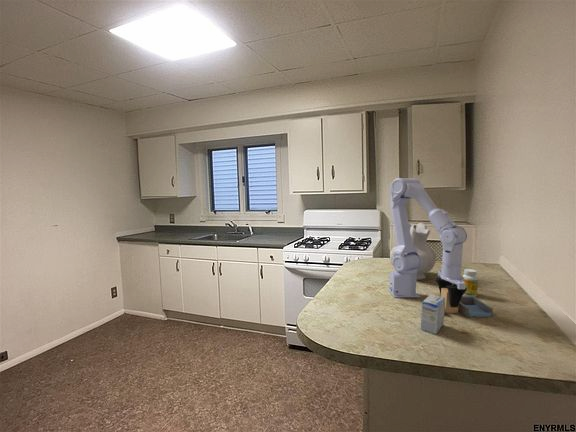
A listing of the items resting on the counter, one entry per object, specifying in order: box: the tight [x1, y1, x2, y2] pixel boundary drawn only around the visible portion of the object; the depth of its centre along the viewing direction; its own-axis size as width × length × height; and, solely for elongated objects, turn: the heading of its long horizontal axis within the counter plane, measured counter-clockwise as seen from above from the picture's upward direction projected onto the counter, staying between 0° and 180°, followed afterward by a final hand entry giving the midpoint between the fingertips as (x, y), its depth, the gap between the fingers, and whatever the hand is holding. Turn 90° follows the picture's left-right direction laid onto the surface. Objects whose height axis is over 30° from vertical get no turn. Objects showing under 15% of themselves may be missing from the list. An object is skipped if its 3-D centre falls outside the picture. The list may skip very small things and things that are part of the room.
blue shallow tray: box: [439, 295, 493, 318], centre depth 108 cm, size 16×12×2 cm
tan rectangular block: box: [441, 288, 459, 314], centre depth 107 cm, size 4×4×7 cm
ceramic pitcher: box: [389, 221, 437, 281], centre depth 144 cm, size 22×20×25 cm
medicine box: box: [420, 294, 445, 335], centre depth 94 cm, size 8×4×9 cm, turn 141°
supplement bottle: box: [462, 268, 479, 298], centre depth 122 cm, size 5×5×10 cm
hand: (449, 303), depth 107 cm, fingers open, 6 cm apart
